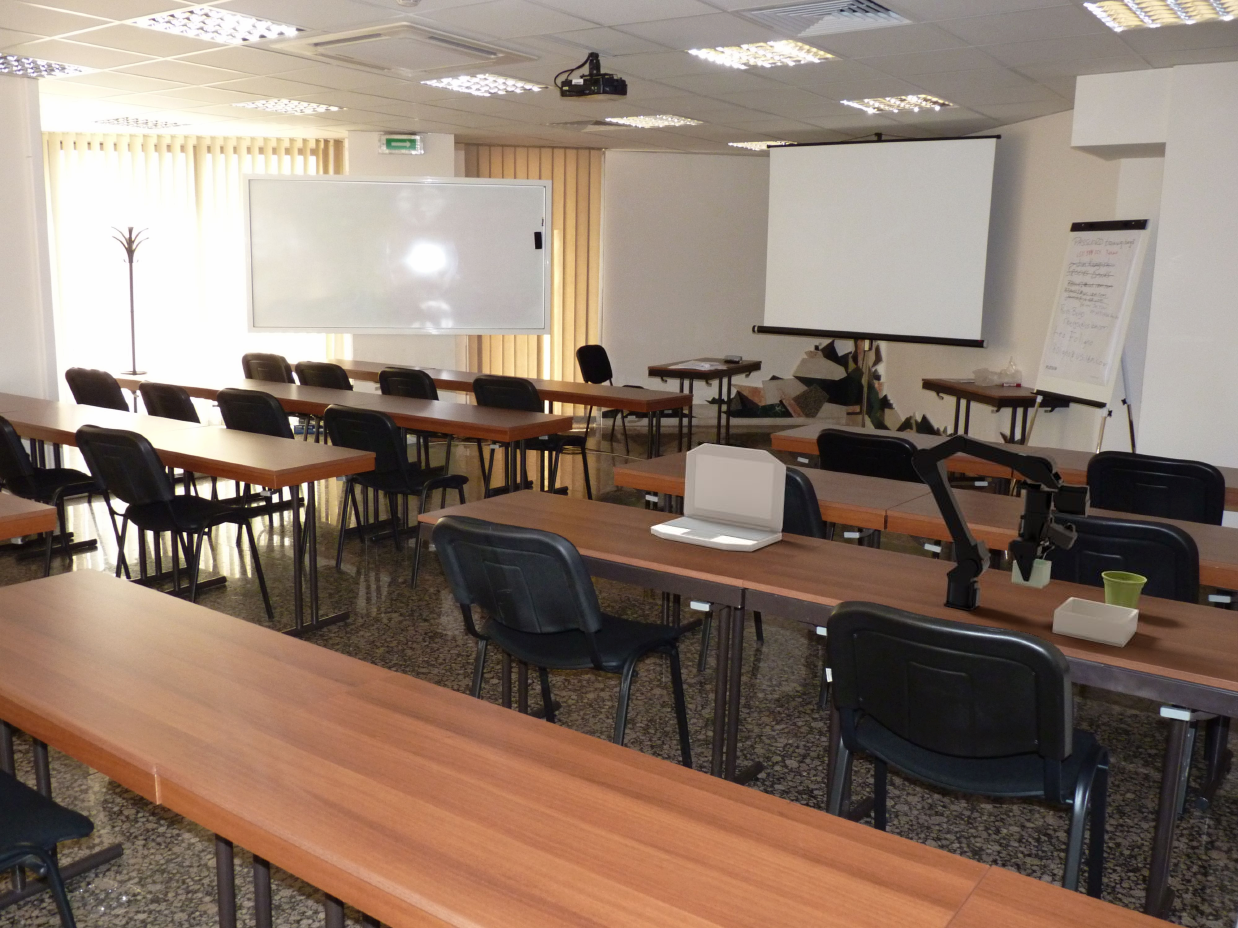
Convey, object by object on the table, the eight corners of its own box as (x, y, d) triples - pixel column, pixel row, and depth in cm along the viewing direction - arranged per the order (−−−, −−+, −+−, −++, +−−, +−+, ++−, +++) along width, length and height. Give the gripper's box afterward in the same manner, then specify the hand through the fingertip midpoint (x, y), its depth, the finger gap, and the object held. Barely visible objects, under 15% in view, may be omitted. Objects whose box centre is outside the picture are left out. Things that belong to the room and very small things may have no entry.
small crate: (1011, 582, 225) (1013, 561, 224) (1019, 577, 230) (1021, 556, 230) (1041, 588, 221) (1043, 566, 221) (1049, 582, 226) (1051, 561, 226)
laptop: (643, 536, 296) (647, 448, 292) (685, 523, 316) (689, 440, 312) (744, 555, 278) (749, 461, 274) (781, 540, 298) (787, 452, 293)
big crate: (1052, 632, 217) (1054, 610, 216) (1068, 618, 228) (1071, 596, 227) (1122, 647, 209) (1125, 624, 208) (1136, 631, 220) (1138, 609, 219)
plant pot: (1147, 620, 229) (1152, 583, 228) (1103, 616, 231) (1108, 579, 229) (1135, 608, 238) (1139, 573, 237) (1093, 604, 240) (1097, 569, 239)
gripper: (1064, 522, 211) (1057, 593, 214) (1085, 510, 226) (1078, 577, 228) (1010, 514, 218) (1003, 583, 220) (1034, 503, 232) (1028, 568, 235)
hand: (1030, 578), depth 226 cm, fingers closed on small crate, 6 cm apart
